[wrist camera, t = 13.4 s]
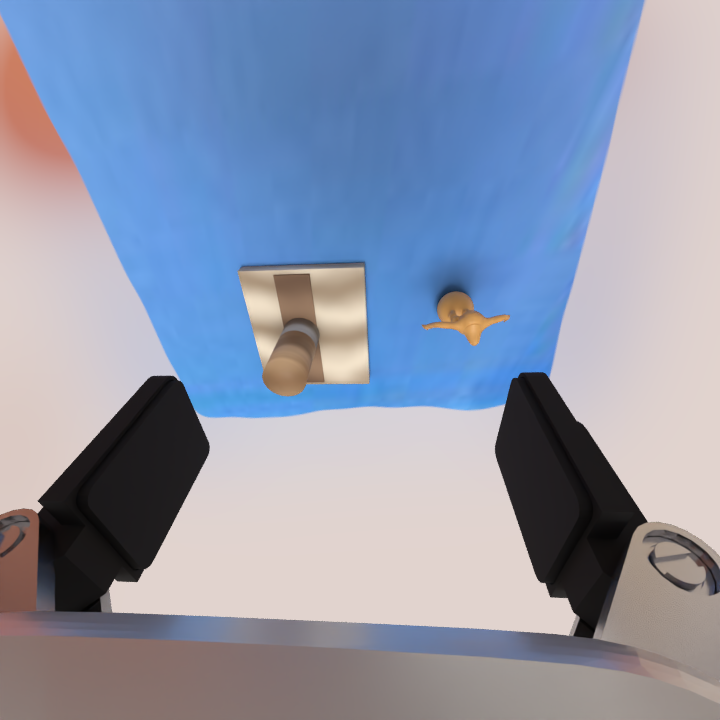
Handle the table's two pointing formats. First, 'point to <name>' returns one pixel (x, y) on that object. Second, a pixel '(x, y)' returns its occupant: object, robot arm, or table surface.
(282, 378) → the brown cylinder
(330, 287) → the floor board
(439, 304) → the figurine
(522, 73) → the table surface
